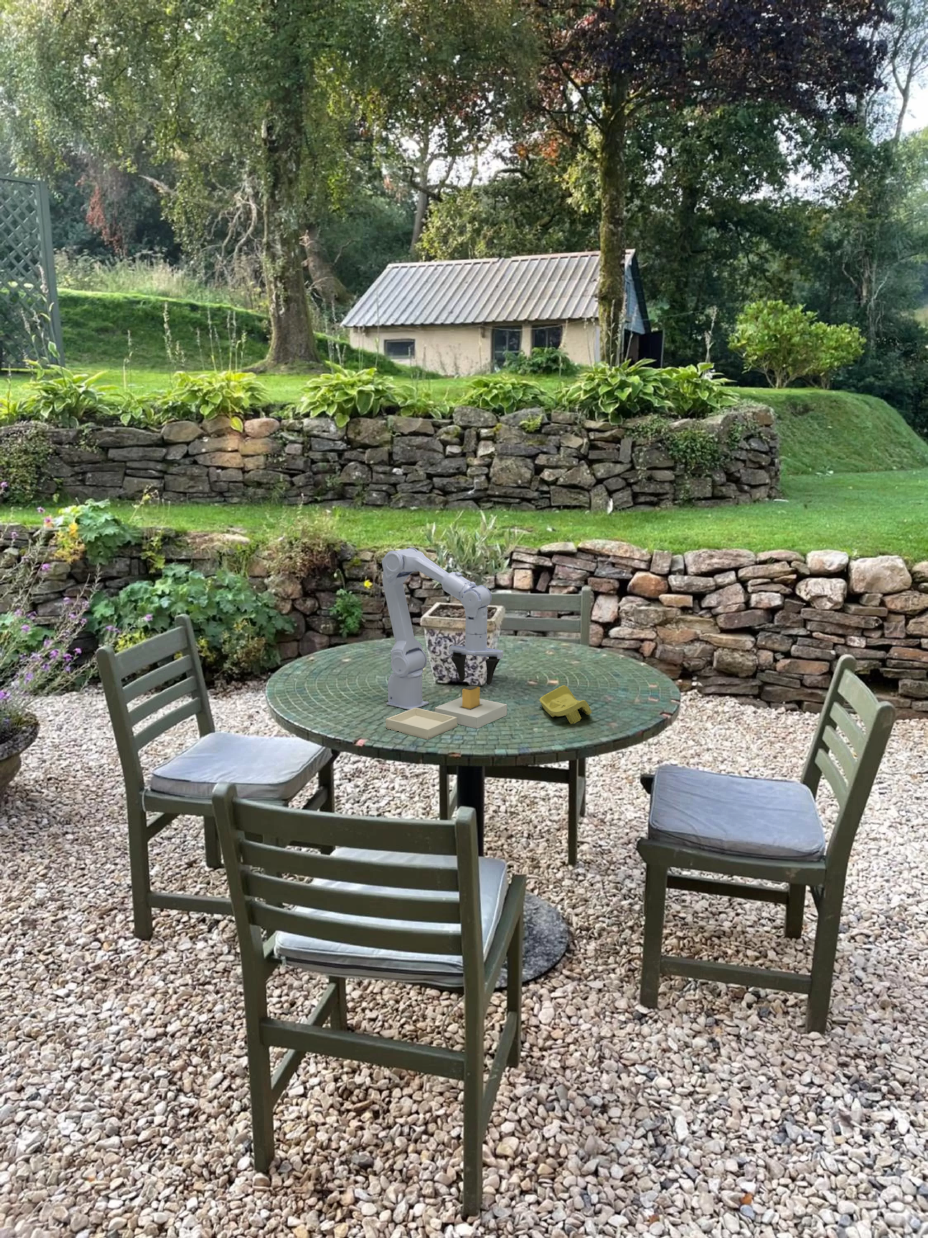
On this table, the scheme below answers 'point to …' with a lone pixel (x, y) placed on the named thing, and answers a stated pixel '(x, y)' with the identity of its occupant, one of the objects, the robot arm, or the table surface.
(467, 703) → the fuse
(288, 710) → the table surface
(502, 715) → the fuse block
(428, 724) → the parts tray
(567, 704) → the plastic component
